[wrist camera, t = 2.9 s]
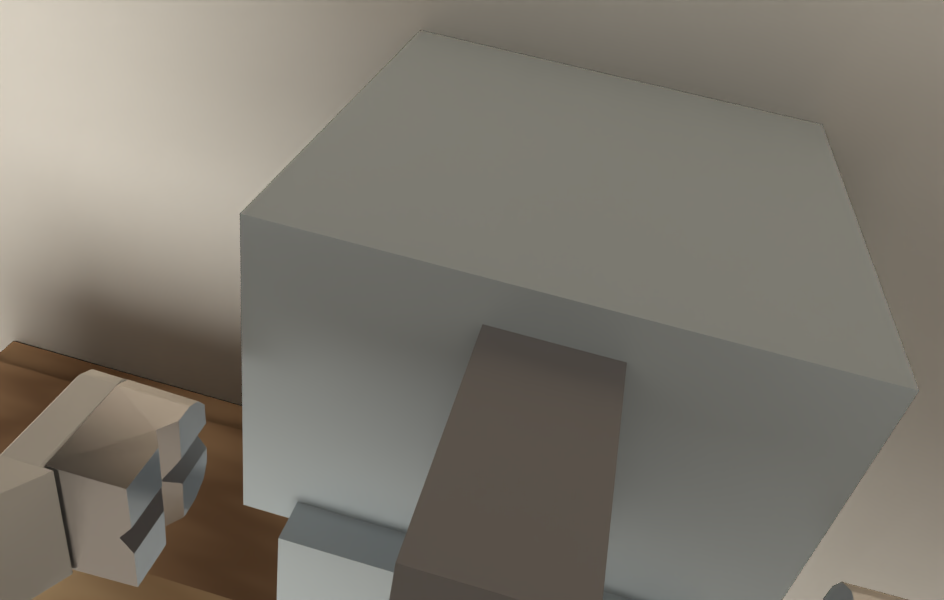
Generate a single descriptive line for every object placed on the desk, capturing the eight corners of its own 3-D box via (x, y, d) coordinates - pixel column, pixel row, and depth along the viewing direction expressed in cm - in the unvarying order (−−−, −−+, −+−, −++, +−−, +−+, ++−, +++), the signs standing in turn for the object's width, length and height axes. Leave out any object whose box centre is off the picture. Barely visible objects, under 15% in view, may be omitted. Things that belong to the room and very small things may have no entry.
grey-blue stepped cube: (822, 123, 17) (1030, 694, 7) (689, 424, 23) (689, 1006, 12) (420, 29, 18) (48, 409, 8) (383, 341, 23) (132, 819, 13)
